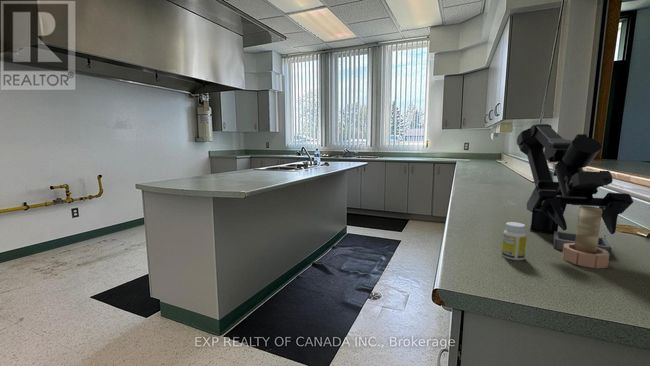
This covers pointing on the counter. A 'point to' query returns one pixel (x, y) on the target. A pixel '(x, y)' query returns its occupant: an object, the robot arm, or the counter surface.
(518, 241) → the supplement bottle
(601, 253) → the pink faceted bowl
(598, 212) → the dowel
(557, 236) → the tray
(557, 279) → the counter surface
